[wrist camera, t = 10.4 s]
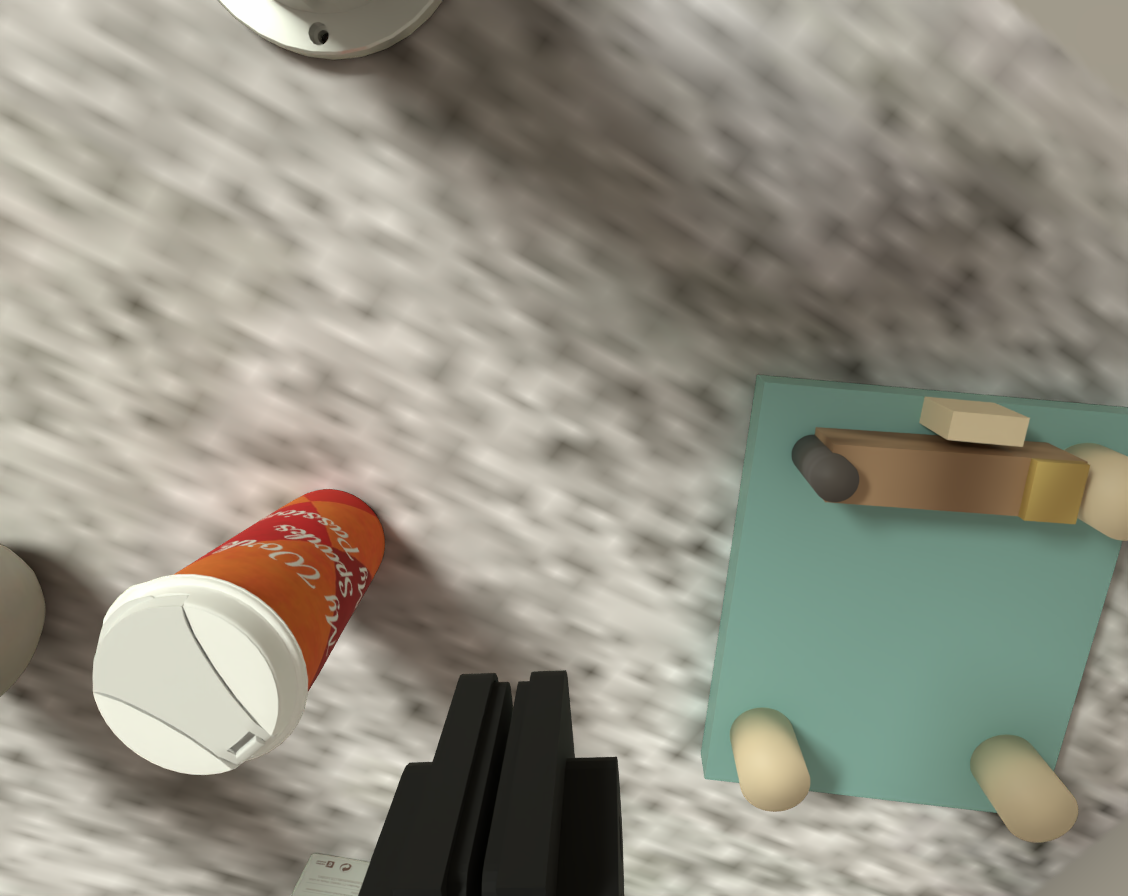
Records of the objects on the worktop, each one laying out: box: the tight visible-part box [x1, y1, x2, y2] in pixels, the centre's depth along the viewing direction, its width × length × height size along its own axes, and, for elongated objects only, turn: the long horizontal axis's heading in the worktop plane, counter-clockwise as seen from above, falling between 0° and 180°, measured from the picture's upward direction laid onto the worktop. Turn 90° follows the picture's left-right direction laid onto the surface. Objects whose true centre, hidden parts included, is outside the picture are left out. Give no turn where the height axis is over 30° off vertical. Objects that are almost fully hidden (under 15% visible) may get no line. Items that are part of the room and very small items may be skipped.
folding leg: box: [792, 427, 1090, 524], centre depth 32 cm, size 11×2×4 cm, turn 87°
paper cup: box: [93, 489, 385, 775], centre depth 33 cm, size 8×8×14 cm
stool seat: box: [701, 375, 1128, 842], centre depth 35 cm, size 21×17×6 cm
